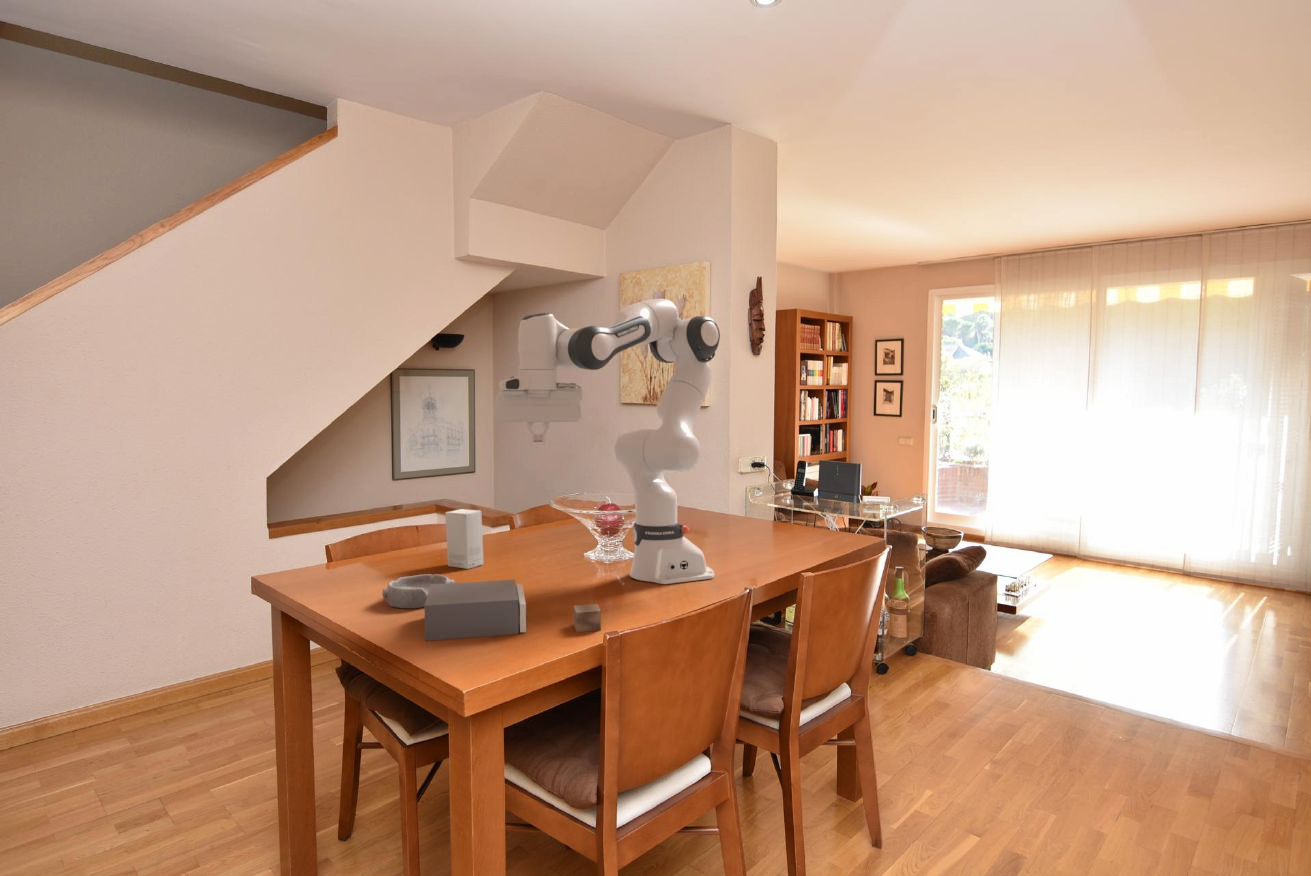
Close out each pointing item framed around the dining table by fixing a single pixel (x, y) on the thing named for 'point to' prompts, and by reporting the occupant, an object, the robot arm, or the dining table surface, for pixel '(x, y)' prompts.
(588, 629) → the walnut block
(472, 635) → the grey drawer cabinet
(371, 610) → the dining table surface
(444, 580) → the dish
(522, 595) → the white drawer
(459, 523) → the skincare box
